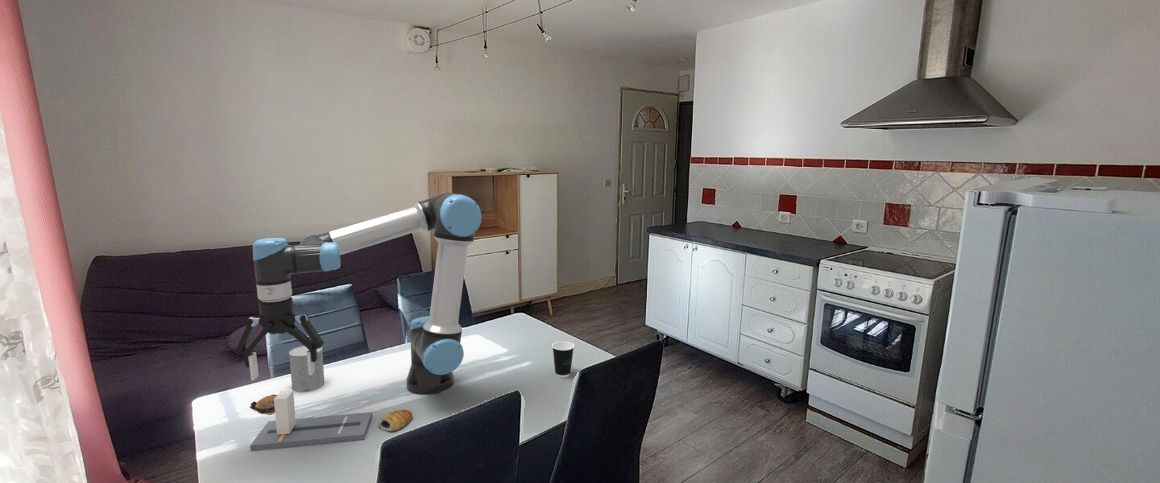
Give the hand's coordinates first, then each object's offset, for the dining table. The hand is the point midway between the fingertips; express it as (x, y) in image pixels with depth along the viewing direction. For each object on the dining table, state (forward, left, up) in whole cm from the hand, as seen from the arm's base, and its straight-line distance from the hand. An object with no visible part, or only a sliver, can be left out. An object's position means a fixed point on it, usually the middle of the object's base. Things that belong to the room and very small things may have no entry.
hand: (283, 375), depth 130 cm
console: (-7, 0, -17) cm, 18 cm away
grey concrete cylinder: (+4, -31, -17) cm, 36 cm away
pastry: (-27, -1, -18) cm, 32 cm away
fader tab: (0, 0, -15) cm, 15 cm away
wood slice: (+11, -18, -18) cm, 28 cm away
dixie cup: (-80, -24, -17) cm, 85 cm away
